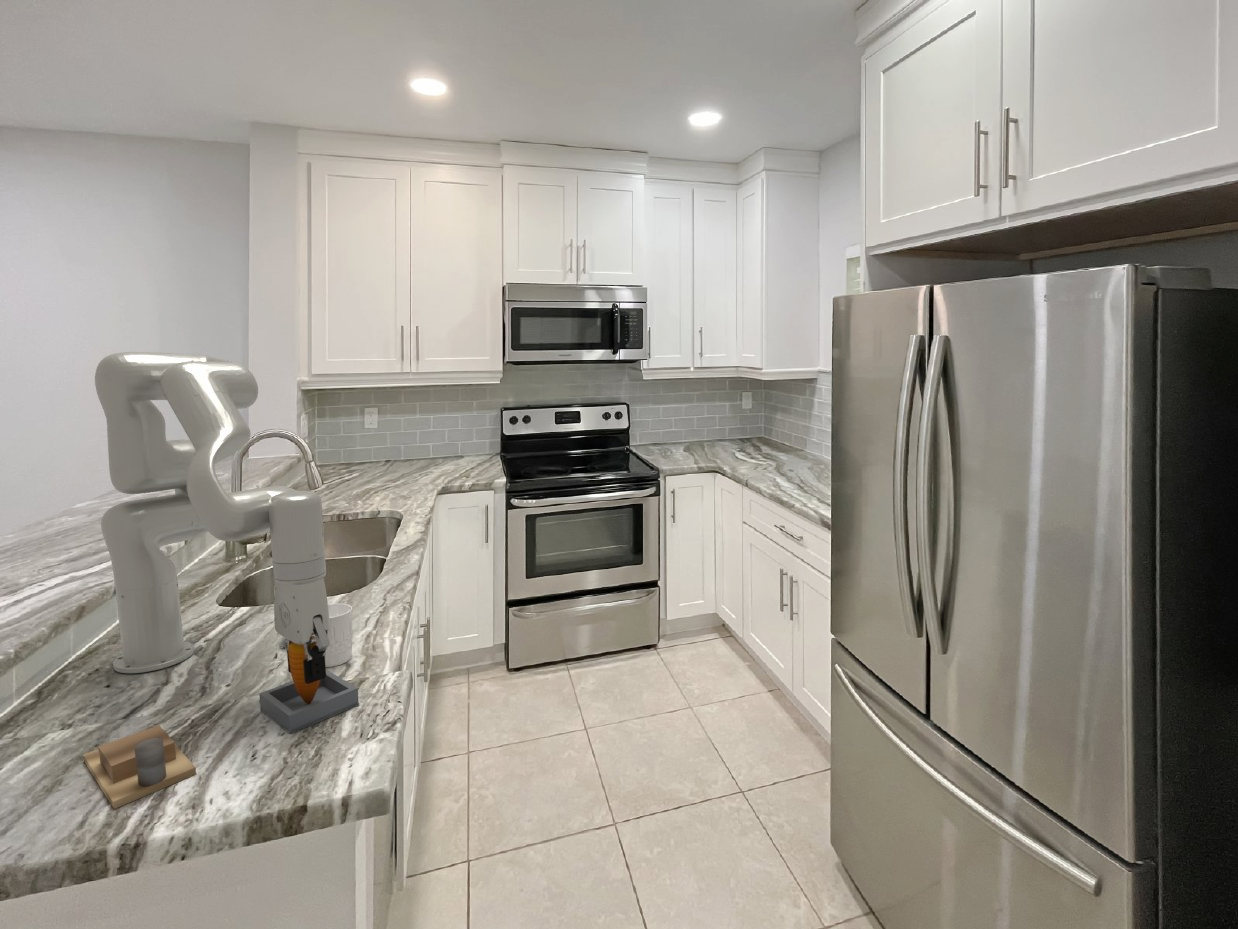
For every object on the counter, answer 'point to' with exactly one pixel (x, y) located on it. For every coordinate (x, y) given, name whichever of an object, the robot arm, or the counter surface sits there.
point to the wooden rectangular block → (131, 753)
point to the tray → (297, 714)
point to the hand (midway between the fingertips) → (307, 674)
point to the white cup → (339, 635)
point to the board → (130, 783)
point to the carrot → (301, 672)
